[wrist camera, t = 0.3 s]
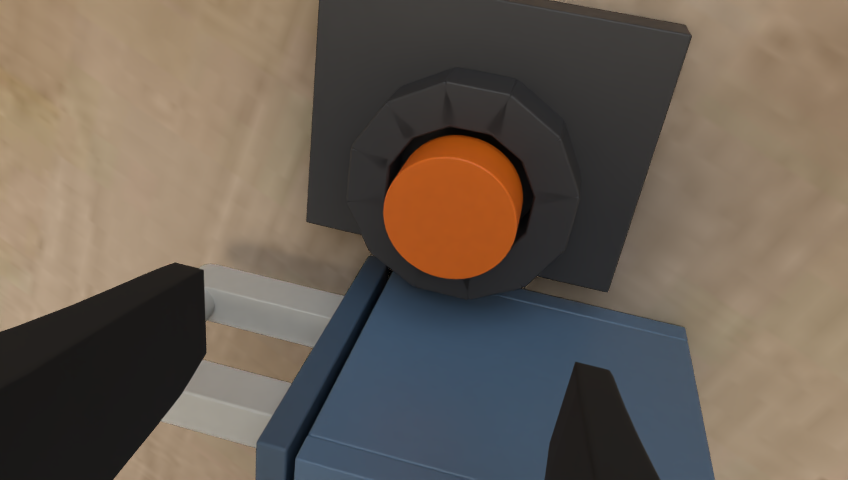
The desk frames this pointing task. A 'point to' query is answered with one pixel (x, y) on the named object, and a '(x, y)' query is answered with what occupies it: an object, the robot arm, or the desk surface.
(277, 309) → the cabinet door
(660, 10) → the desk surface
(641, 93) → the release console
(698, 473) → the blue-grey cabinet box
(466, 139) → the release button
